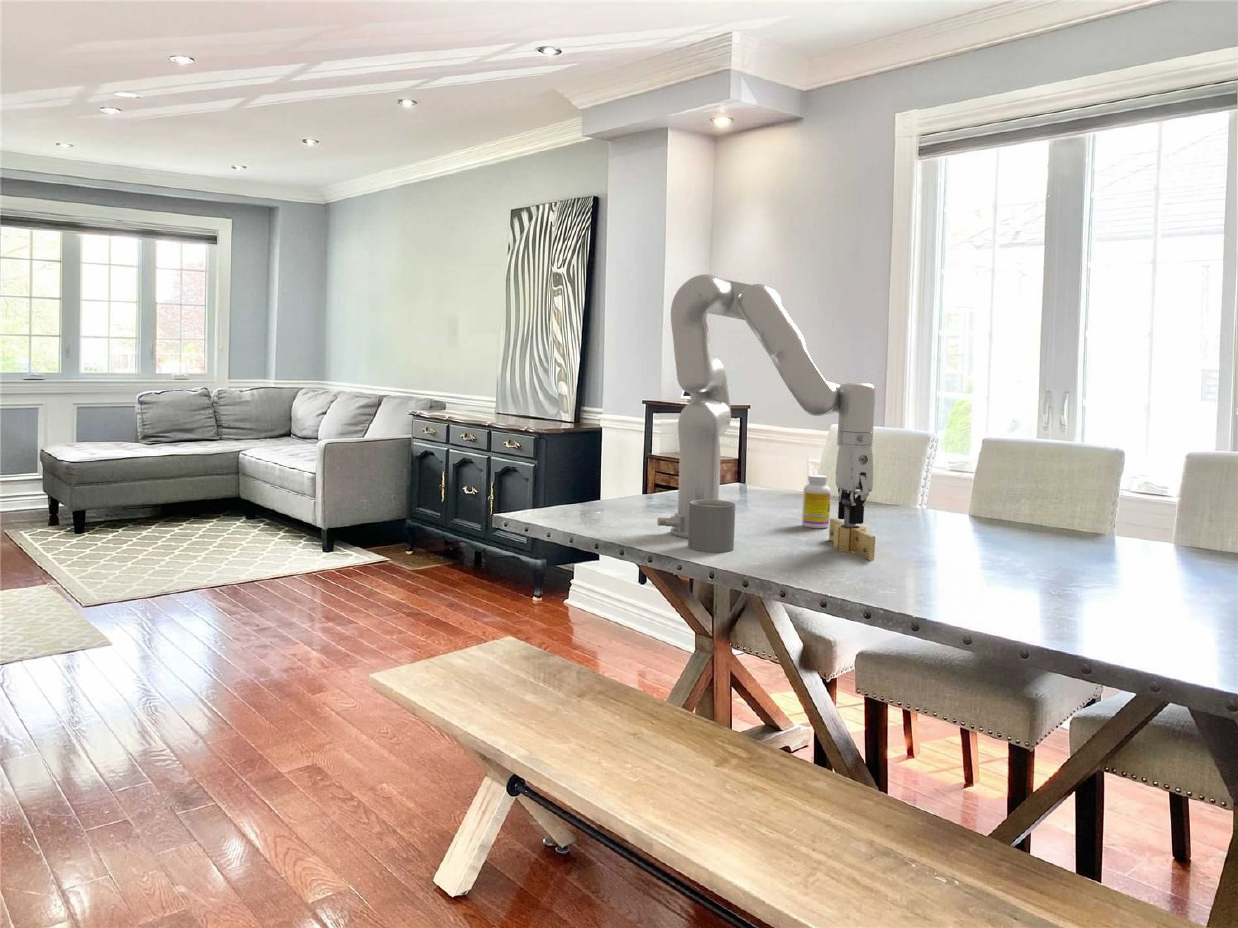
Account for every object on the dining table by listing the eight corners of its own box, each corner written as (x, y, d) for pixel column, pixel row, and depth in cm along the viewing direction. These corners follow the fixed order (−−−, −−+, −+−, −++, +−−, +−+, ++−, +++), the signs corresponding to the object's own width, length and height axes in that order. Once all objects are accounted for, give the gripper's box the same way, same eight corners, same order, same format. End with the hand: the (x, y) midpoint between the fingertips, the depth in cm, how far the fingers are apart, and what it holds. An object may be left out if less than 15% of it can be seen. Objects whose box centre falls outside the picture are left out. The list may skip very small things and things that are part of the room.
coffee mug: (723, 554, 197) (725, 508, 196) (680, 549, 202) (682, 503, 201) (745, 544, 209) (747, 500, 208) (704, 539, 214) (705, 496, 213)
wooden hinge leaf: (846, 545, 211) (847, 523, 210) (839, 545, 210) (840, 523, 210) (834, 539, 217) (835, 518, 217) (828, 539, 217) (829, 518, 217)
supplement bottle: (831, 529, 231) (834, 477, 229) (804, 528, 231) (807, 477, 229) (825, 524, 237) (828, 474, 236) (799, 523, 237) (802, 473, 236)
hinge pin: (843, 550, 205) (846, 501, 204) (836, 547, 209) (839, 498, 207) (860, 550, 206) (863, 501, 204) (852, 546, 209) (855, 498, 208)
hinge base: (857, 560, 195) (858, 536, 195) (829, 545, 210) (830, 524, 209) (885, 559, 197) (886, 536, 196) (856, 545, 211) (857, 523, 210)
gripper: (888, 443, 197) (883, 528, 199) (854, 436, 213) (850, 514, 215) (855, 443, 195) (850, 528, 197) (823, 436, 212) (819, 514, 214)
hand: (850, 520), depth 206 cm, fingers open, 4 cm apart
